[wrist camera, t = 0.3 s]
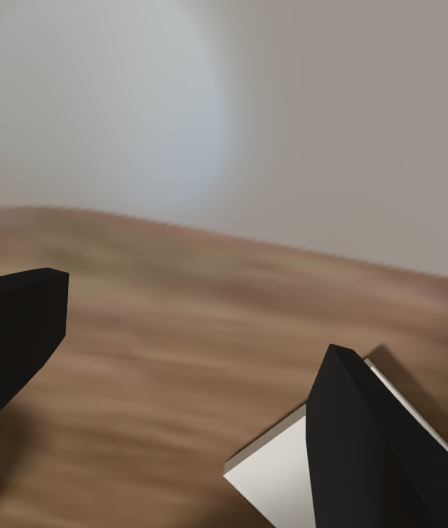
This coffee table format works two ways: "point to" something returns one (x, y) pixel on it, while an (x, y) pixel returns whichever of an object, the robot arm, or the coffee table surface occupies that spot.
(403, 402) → the base plate
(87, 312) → the coffee table surface
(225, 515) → the coffee table surface
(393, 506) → the robot arm
